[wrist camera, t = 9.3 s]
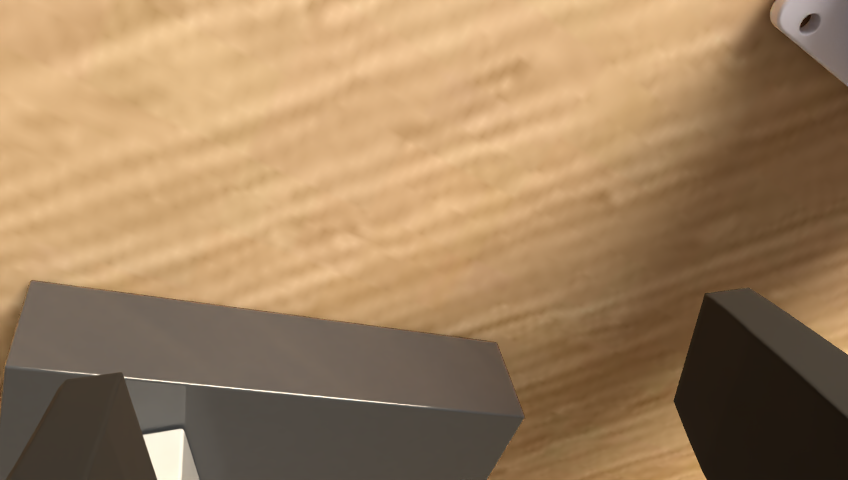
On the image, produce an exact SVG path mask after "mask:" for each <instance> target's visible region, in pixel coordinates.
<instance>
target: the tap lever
mask: <svg viewBox="0 0 848 480" xmlns="http://www.w3.org/2000/svg"><path fill="white" fill-rule="evenodd" d="M143 437H144V440H145V443H146V447H147V450H148V453H149V456H150V459H151V462H152V465H153V468H154V471H155V474H156V477H157V480H199V476H198V473H197V470H196V467H195V464H194V460H193V457H192V454H191V451H190V448H189V444H188V441H187V438H186V435H185V432H184V430H183V429H175V430H169V431H162V432H156V433H150V434H144V435H143Z"/></svg>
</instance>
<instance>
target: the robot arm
mask: <svg viewBox="0 0 848 480" xmlns="http://www.w3.org/2000/svg"><path fill="white" fill-rule="evenodd" d="M810 14H811V18H810V20H809V21H808V23H807V24H806V25H804V26H803V27H801V28H800V24H801V22H802V21H803V19H804V18H805V17H807V16H808V15H810ZM770 20H771V22H772V23H773V25H774V26H775V27H776V28H777V29H779V30H780V31H781V32H782V33H783V34H785V35H786V36H787V37H788V38H789V39H791V40H792V41H793V42H794V43H796V44H797V45H798V46H799V47H800V48H802V49H803V50H804V51H805V52H806V53H808V54H809V55H810V56H811V57H812V58H814V59H815V60H816V61H817V62H818V63H820V64H821V65H822V66H823V67H824V68H826V69H827V70H828V71H829V72H830V73H832V74H833V75H834V76H835V77H837V78H838V79H839V80H840V81H841V82H843V83H844V84H845V85H846V86H847V87H848V0H776V1H775V2H774V4H773V5H772V8H771V11H770ZM674 403H675V406H676V408H677V411H678V413H679V416H680V418H681V421H682V424H683V426H684V429H685V431H686V434H687V436H688V439H689V441H690V444H691V446H692V448H693V450H694V453H695V455H696V457H697V460H698V462H699V464H700V467H701V469H702V471H703V473H704V475H705V477H706V479H707V480H848V355H847V354H846V353H844V352H843V351H842V350H840V349H839V348H837V347H836V346H834V345H833V344H831V343H830V342H829V341H827V340H826V339H824V338H823V337H821V336H820V335H818V334H817V333H816V332H814V331H813V330H811V329H810V328H808V327H807V326H805V325H804V324H803V323H801V322H800V321H798V320H797V319H795V318H794V317H792V316H791V315H789V314H788V313H787V312H785V311H784V310H782V309H781V308H779V307H778V306H776V305H775V304H773V303H772V302H770V301H769V300H767V299H766V298H764V297H763V296H761V295H759V294H758V293H756V292H755V291H753V290H752V289H750V288H742V289H735V290H728V291H720V292H713V293H705V295H704V298H703V302H702V305H701V309H700V312H699V316H698V319H697V322H696V326H695V329H694V333H693V336H692V339H691V343H690V346H689V350H688V353H687V357H686V360H685V363H684V367H683V370H682V374H681V377H680V380H679V384H678V387H677V391H676V394H675V398H674ZM6 480H157V477H156V474H155V471H154V468H153V465H152V462H151V459H150V456H149V453H148V450H147V447H146V443H145V440H144V437H143V434H142V431H141V428H140V425H139V422H138V419H137V416H136V413H135V410H134V407H133V404H132V401H131V398H130V395H129V391H128V388H127V385H126V382H125V379H124V376H123V373H122V372H118V373H110V374H103V375H95V376H88V377H80V378H73V379H66V380H65V381H64V383H63V384H62V385H61V386H60V387H59V388H58V390H57V392H56V393H55V395H54V397H53V399H52V401H51V402H50V404H49V406H48V408H47V410H46V411H45V413H44V415H43V417H42V418H41V420H40V422H39V424H38V426H37V427H36V429H35V431H34V433H33V434H32V436H31V438H30V440H29V441H28V443H27V445H26V446H25V448H24V450H23V452H22V453H21V455H20V457H19V458H18V460H17V462H16V463H15V465H14V467H13V468H12V470H11V472H10V473H9V475H8V477H7V478H6Z"/></svg>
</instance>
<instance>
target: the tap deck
mask: <svg viewBox="0 0 848 480" xmlns="http://www.w3.org/2000/svg"><path fill="white" fill-rule="evenodd" d="M118 372H122V373H123V376H124V379H125V382H126V385H127V388H128V391H129V395H130V398H131V401H132V404H133V407H134V410H135V413H136V416H137V419H138V422H139V425H140V428H141V431H142V434H143V435H144V434H150V433H156V432H162V431H169V430H175V429H183V430H184V432H185V435H186V438H187V441H188V444H189V448H190V451H191V454H192V457H193V460H194V464H195V467H196V470H197V473H198V476H199V480H487V479H488V478H489V476H490V474H491V473H492V471H493V469H494V468H495V466H496V464H497V463H498V461H499V460H500V458H501V456H502V455H503V453H504V451H505V450H506V448H507V446H508V445H509V443H510V441H511V440H512V438H513V437H514V435H515V433H516V432H517V430H518V428H519V427H520V425H521V423H522V422H523V420H524V418H525V415H524V413H523V410H522V407H521V405H520V402H519V399H518V397H517V394H516V391H515V389H514V386H513V384H512V381H511V378H510V376H509V373H508V370H507V368H506V365H505V362H504V360H503V357H502V354H501V352H500V349H499V347H498V344H497V343H496V342H491V341H484V340H476V339H469V338H461V337H454V336H446V335H439V334H431V333H424V332H416V331H409V330H401V329H394V328H386V327H379V326H371V325H364V324H356V323H349V322H341V321H334V320H326V319H319V318H311V317H304V316H296V315H289V314H281V313H274V312H266V311H259V310H251V309H244V308H236V307H229V306H221V305H214V304H206V303H199V302H191V301H184V300H176V299H169V298H161V297H154V296H146V295H139V294H131V293H124V292H116V291H109V290H101V289H94V288H86V287H79V286H72V285H64V284H57V283H49V282H42V281H34V280H32V281H30V282H29V285H28V289H27V292H26V295H25V299H24V302H23V305H22V309H21V312H20V315H19V319H18V322H17V325H16V329H15V332H14V335H13V338H12V342H11V345H10V348H9V352H8V355H7V358H6V362H5V365H4V373H3V383H2V394H1V405H0V480H6V478H7V477H8V475H9V473H10V472H11V470H12V468H13V467H14V465H15V463H16V462H17V460H18V458H19V457H20V455H21V453H22V452H23V450H24V448H25V446H26V445H27V443H28V441H29V440H30V438H31V436H32V434H33V433H34V431H35V429H36V427H37V426H38V424H39V422H40V420H41V418H42V417H43V415H44V413H45V411H46V410H47V408H48V406H49V404H50V402H51V401H52V399H53V397H54V395H55V393H56V392H57V390H58V388H59V387H60V386H61V385H62V384H63V383H64V381H65V380H66V379H73V378H80V377H88V376H95V375H103V374H110V373H118Z"/></svg>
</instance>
